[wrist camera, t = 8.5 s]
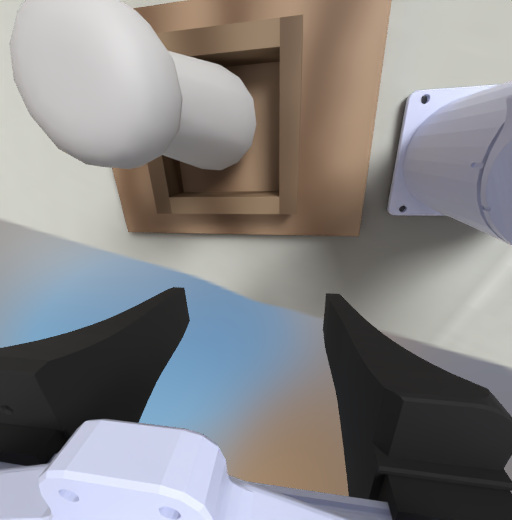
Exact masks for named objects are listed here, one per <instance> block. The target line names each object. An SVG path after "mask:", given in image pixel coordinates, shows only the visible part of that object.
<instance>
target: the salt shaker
mask: <svg viewBox="0 0 512 520" xmlns="http://www.w3.org/2000/svg"><path fill="white" fill-rule="evenodd" d="M10 51H11V59H12V68H13V76H14V81H15V83H16V86H17V88H18V90H19V92H20V94H21V96H22V98H23V101H24V103H25V105H26V107H27V109H28V111H29V114H30V115H31V116H32V118H33V119H34V120H35V121H36V123H37V124H38V125H39V126H40V127H41V128H42V130H43V131H44V132H45V133H46V134H47V136H48V137H49V138H50V139H51V140H52V141H53V143H54V144H55V145H56V146H57V147H58V149H60V150H62V151H64V152H66V153H67V154H69V155H71V156H73V157H75V158H76V159H78V160H80V161H82V162H83V163H85V164H88V165H95V166H101V167H112V168H124V169H132V168H137V167H141V166H143V165H145V164H147V163H148V162H150V161H152V160H154V159H156V158H158V157H159V156H161V155H164V156H167V157H170V158H173V159H175V160H178V161H181V162H184V163H187V164H190V165H192V166H195V167H198V168H201V169H209V170H223V169H225V168H227V167H229V166H231V165H233V164H236V163H238V162H239V161H240V159H241V158H242V157H243V156H244V154H245V153H246V152H247V151H248V149H249V148H250V147H251V146H252V141H253V137H254V133H255V128H256V117H255V109H254V102H253V98H252V96H251V95H250V93H249V91H248V90H247V88H246V87H245V85H244V84H243V82H242V81H241V79H240V78H239V77H238V76H236V75H235V74H233V73H232V72H230V71H229V70H227V69H226V68H224V67H223V66H221V65H219V64H215V63H211V62H208V61H204V60H200V59H197V58H193V57H189V56H185V55H182V54H178V53H174V52H171V51H168V50H167V49H166V48H165V46H164V45H163V43H162V42H161V40H160V39H159V37H158V36H157V34H156V33H155V31H154V30H153V29H152V27H151V26H150V24H149V23H148V22H147V21H146V20H145V19H144V18H143V17H142V16H141V15H140V14H139V13H138V12H137V11H136V10H134V9H133V8H131V7H129V6H128V5H126V4H125V3H123V2H122V1H120V0H25V1H24V2H23V3H22V4H21V5H20V7H19V9H18V11H17V15H16V19H15V23H14V28H13V32H12V36H11V40H10Z"/></svg>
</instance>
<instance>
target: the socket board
mask: <svg viewBox="0 0 512 520" xmlns="http://www.w3.org/2000/svg"><path fill="white" fill-rule="evenodd" d="M391 1H392V0H187V1H180V2H173V3H167V4H160V5H153V6H147V7H140V8H133V9H134V10H136V11H137V12H138V13H139V14H140V15H141V16H142V17H143V18H144V19H145V20H146V21H147V22H148V23H149V24H150V26H151V27H152V29H153V30H154V31H155V33H156V34H157V36H158V37H159V39H160V40H161V42H162V43H163V45H164V46H165V48H166V49H167V50H168V51H171V52H174V53H178V54H182V55H185V56H189V57H193V58H197V59H200V60H204V61H208V62H211V63H215V64H219V65H221V66H223V67H224V68H226V69H227V70H229V71H230V72H232V73H233V74H235V75H236V76H238V77H239V78H240V79H241V81H242V82H243V84H244V85H245V87H246V88H247V90H248V91H249V93H250V95H251V96H252V98H253V102H254V109H255V117H256V128H255V133H254V137H253V141H252V146H251V147H250V148H249V149H248V151H247V152H246V153H245V154H244V156H243V157H242V158H241V159H240V161H239V162H238V163H236V164H233V165H231V166H229V167H227V168H225V169H223V170H209V169H201V168H198V167H195V166H192V165H190V164H187V163H184V162H181V161H178V160H175V159H173V158H170V157H167V156H164V155H161V156H159V157H158V158H156V159H154V160H152V161H150V162H148V163H147V164H145V165H143V166H141V167H137V168H132V169H124V168H112V169H113V173H114V177H115V181H116V185H117V189H118V193H119V197H120V201H121V205H122V209H123V213H124V217H125V221H126V225H127V229H128V232H157V233H211V234H265V235H320V236H359V232H360V225H361V218H362V210H363V203H364V196H365V189H366V181H367V174H368V167H369V160H370V152H371V145H372V138H373V131H374V124H375V116H376V109H377V102H378V95H379V87H380V80H381V73H382V66H383V59H384V51H385V44H386V37H387V30H388V22H389V15H390V8H391Z"/></svg>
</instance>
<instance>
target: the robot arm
mask: <svg viewBox="0 0 512 520" xmlns="http://www.w3.org/2000/svg"><path fill="white" fill-rule="evenodd" d="M423 95H425V96H426V97H427V102H426V103H425V104H422V102H421V98H422V96H423ZM403 205H404V206H405V209H404V210H403V211H399V208H400V207H401V206H403ZM387 211H388V213H390V214H391V215H415V216H449V217H451V218H453V219H456V220H458V221H460V222H462V223H464V224H467V225H469V226H471V227H473V228H475V229H478V230H480V231H482V232H484V233H486V234H488V235H491V236H493V237H495V238H497V239H499V240H502V241H504V242H506V243H508V244H510V245H512V81H510V82H506V83H503V84H500V85H486V86H473V87H459V88H445V89H431V90H418V91H415V92H413V93H411V94H410V95H409V96H408V98H407V101H406V106H405V111H404V117H403V122H402V128H401V134H400V139H399V145H398V150H397V156H396V162H395V167H394V173H393V179H392V184H391V190H390V195H389V201H388V207H387ZM189 321H190V320H189V314H188V308H187V302H186V296H185V290H184V288H175V287H173V288H171V289H168V290H166V291H164V292H162V293H160V294H158V295H156V296H154V297H152V298H151V299H148V300H146V301H145V302H143V303H141V304H139V305H137V306H135V307H133V308H131V309H128V310H126V311H124V312H122V313H120V314H118V315H116V316H113V317H111V318H109V319H106V320H104V321H101V322H98V323H96V324H93V325H90V326H87V327H84V328H81V329H78V330H75V331H72V332H69V333H65V334H61V335H58V336H54V337H50V338H46V339H42V340H38V341H34V342H29V343H24V344H19V345H14V346H9V347H4V348H0V520H512V493H511V492H510V491H512V481H511V479H510V478H509V476H508V475H507V473H506V472H505V470H504V467H505V465H506V464H507V462H508V460H509V458H510V457H511V455H512V417H511V416H510V414H509V413H508V412H507V411H506V410H505V408H504V407H503V406H502V405H501V404H500V403H499V401H498V400H497V399H496V398H495V396H494V395H493V394H492V393H491V392H490V391H489V390H488V389H487V388H484V387H482V386H480V385H477V384H475V383H472V382H470V381H468V380H465V379H463V378H461V377H458V376H456V375H453V374H451V373H449V372H447V371H445V370H443V369H441V368H439V367H437V366H435V365H433V364H431V363H429V362H427V361H425V360H424V359H422V358H420V357H418V356H416V355H415V354H413V353H411V352H410V351H408V350H406V349H404V348H403V347H401V346H400V345H398V344H397V343H395V342H394V341H392V340H391V339H389V338H388V337H387V336H385V335H384V334H382V333H381V332H380V331H379V330H377V329H376V328H375V327H374V326H372V325H371V324H370V323H369V322H368V321H367V320H365V319H364V318H363V317H362V316H361V315H360V314H359V313H358V312H357V311H356V310H355V309H354V308H353V307H352V306H351V305H350V304H349V303H348V302H347V301H346V300H345V299H344V298H343V297H342V296H341V295H340V294H326V302H325V313H324V324H323V332H324V341H325V348H326V353H327V357H328V361H329V365H330V369H331V373H332V378H333V382H334V386H335V390H336V395H337V400H338V408H339V415H340V422H341V431H342V438H343V445H344V455H345V464H346V472H347V481H348V491H349V497H348V496H341V495H334V494H327V493H321V492H315V491H307V490H301V489H294V488H287V487H281V486H274V485H267V484H260V483H254V482H247V481H244V480H241V479H238V478H236V477H233V476H230V475H228V474H227V466H226V460H225V458H224V456H223V454H222V452H221V451H220V449H219V447H218V445H217V444H216V443H215V442H213V441H212V440H211V439H209V438H207V437H206V436H205V435H204V434H201V433H198V432H195V431H191V430H188V429H184V428H176V427H168V426H160V425H151V424H143V423H138V422H139V420H140V417H141V415H142V413H143V410H144V408H145V406H146V404H147V401H148V399H149V397H150V395H151V393H152V391H153V388H154V386H155V384H156V382H157V380H158V378H159V376H160V375H161V373H162V371H163V369H164V368H165V366H166V365H167V363H168V361H169V359H170V358H171V356H172V354H173V353H174V351H175V350H176V348H177V346H178V344H179V343H180V341H181V339H182V337H183V335H184V333H185V331H186V328H187V326H188V323H189Z"/></svg>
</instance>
